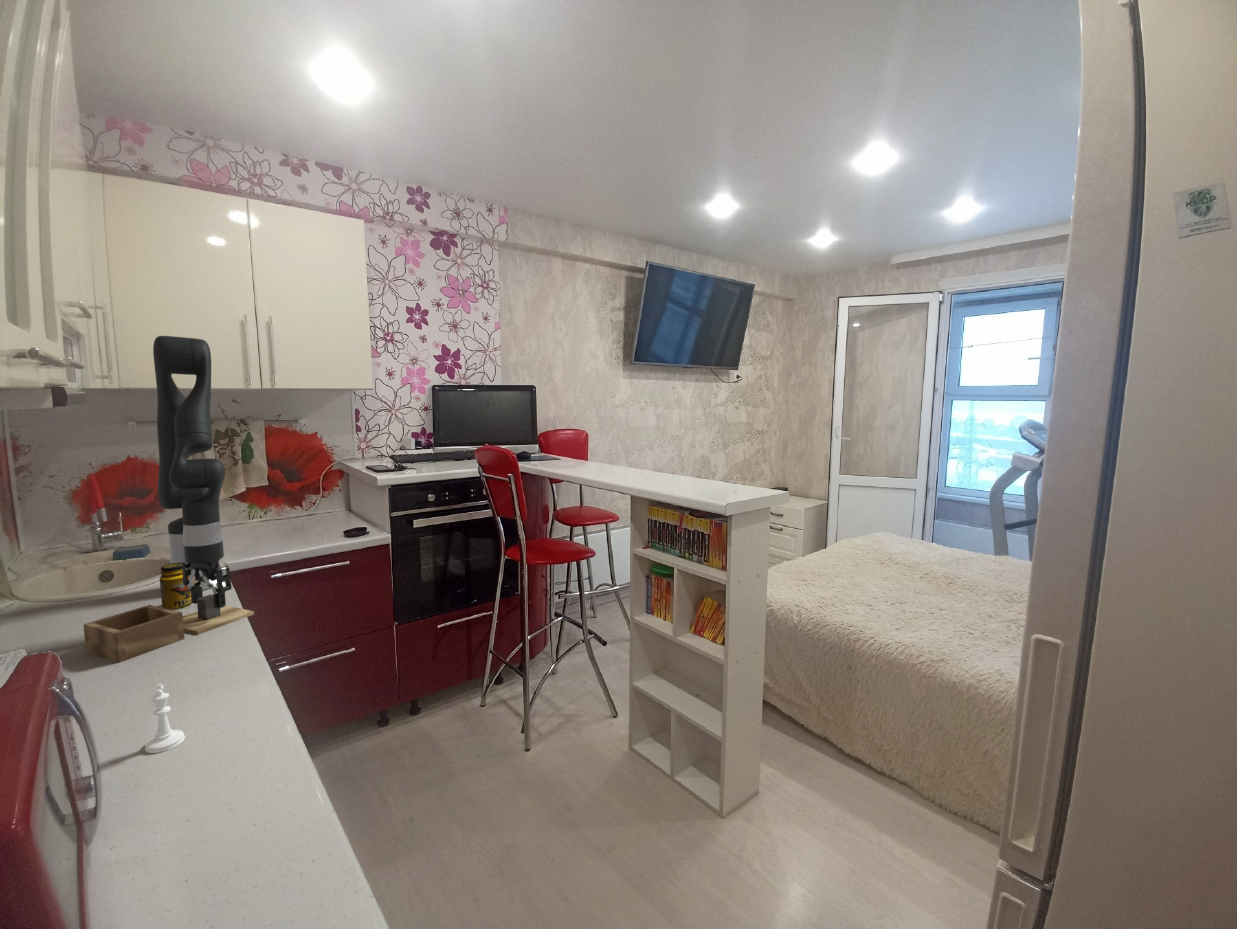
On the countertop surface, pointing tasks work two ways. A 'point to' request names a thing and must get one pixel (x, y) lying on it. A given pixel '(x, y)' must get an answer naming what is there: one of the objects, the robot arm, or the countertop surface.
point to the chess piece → (163, 726)
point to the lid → (211, 616)
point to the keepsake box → (133, 633)
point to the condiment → (174, 587)
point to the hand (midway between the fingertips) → (208, 605)
